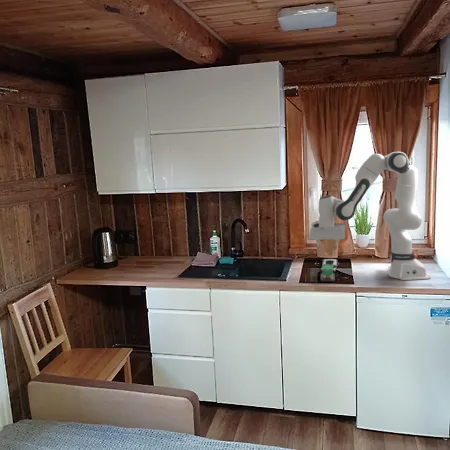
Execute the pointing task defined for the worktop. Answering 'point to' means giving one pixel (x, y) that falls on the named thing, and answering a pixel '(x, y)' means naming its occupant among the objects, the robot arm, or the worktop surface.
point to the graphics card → (326, 261)
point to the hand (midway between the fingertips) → (327, 246)
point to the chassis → (328, 277)
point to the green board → (327, 269)
